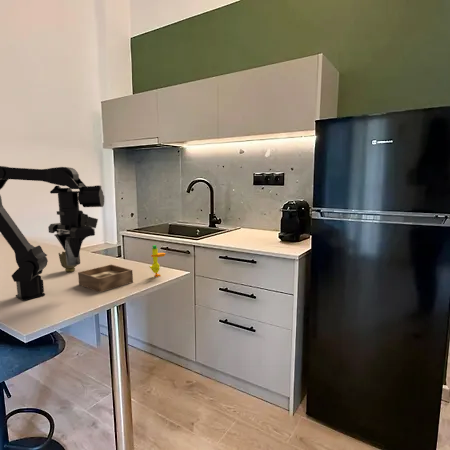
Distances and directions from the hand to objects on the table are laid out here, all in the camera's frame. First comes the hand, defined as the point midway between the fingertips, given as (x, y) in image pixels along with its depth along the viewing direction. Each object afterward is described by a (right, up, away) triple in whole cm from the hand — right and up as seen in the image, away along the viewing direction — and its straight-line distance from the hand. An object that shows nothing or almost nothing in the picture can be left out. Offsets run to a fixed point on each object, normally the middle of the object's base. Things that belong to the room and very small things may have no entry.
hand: (73, 256), depth 105 cm
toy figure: (+23, -10, +21) cm, 32 cm away
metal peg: (0, -3, 0) cm, 2 cm away
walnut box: (+6, -11, +12) cm, 18 cm away
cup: (-14, -9, +28) cm, 33 cm away
